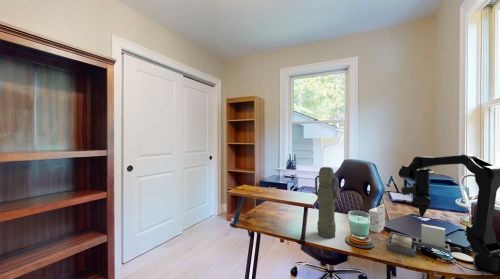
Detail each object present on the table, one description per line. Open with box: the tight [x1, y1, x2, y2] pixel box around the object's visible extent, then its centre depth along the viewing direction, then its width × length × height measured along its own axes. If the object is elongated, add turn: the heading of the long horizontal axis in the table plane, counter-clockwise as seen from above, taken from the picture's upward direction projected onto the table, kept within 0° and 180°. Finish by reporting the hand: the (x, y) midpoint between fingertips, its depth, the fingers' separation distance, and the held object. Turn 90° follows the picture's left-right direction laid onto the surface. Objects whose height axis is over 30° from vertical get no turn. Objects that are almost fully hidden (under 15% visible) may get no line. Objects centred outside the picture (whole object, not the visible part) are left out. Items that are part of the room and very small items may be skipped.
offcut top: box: [392, 234, 412, 246], centre depth 97 cm, size 7×4×2 cm, turn 52°
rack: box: [386, 231, 451, 258], centre depth 97 cm, size 22×17×4 cm
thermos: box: [314, 166, 340, 239], centre depth 114 cm, size 9×12×35 cm
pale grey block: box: [420, 223, 446, 248], centre depth 97 cm, size 8×2×10 cm, turn 52°
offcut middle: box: [391, 239, 411, 249], centre depth 97 cm, size 7×4×2 cm, turn 52°
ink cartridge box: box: [368, 203, 386, 233], centre depth 119 cm, size 9×5×15 cm, turn 126°
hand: (421, 213), depth 108 cm, fingers open, 9 cm apart
